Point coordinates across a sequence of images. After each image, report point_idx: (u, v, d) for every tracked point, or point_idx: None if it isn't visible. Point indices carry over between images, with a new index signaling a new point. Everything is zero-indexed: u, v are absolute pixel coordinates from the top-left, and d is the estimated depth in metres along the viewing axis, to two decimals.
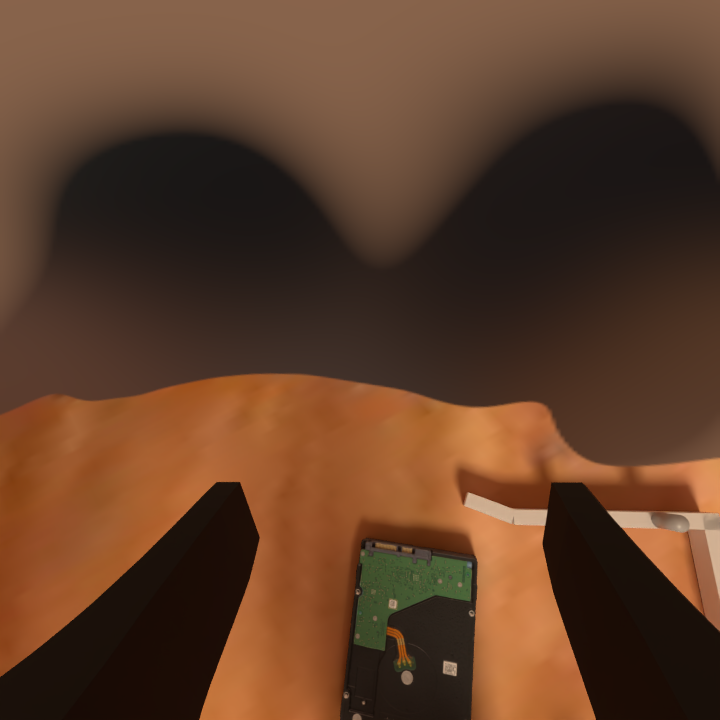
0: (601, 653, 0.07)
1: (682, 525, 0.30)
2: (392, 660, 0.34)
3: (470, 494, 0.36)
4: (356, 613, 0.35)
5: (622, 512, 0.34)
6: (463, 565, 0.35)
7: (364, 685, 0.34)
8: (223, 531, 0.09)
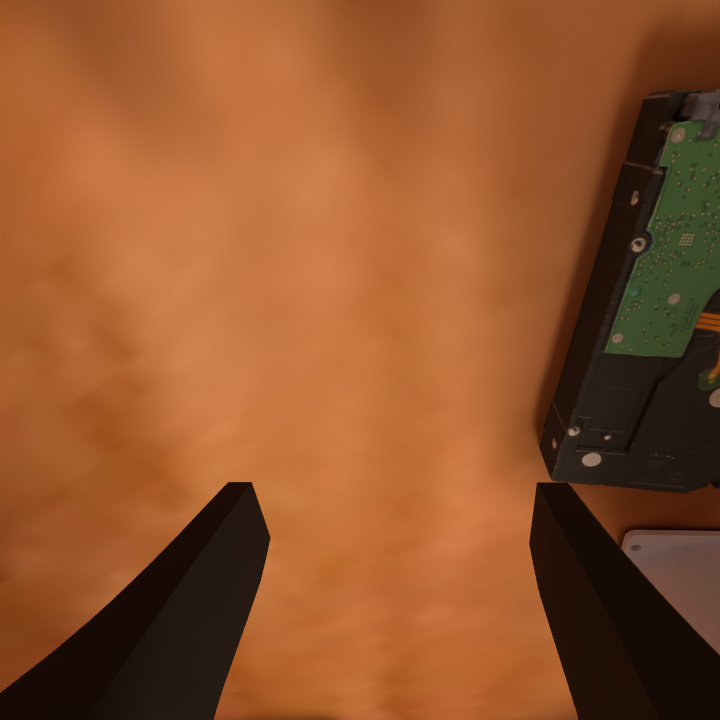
0: (582, 652, 0.07)
1: None
2: (697, 372, 0.15)
3: None
4: (623, 294, 0.14)
5: None
6: None
7: (613, 413, 0.17)
8: (236, 531, 0.09)
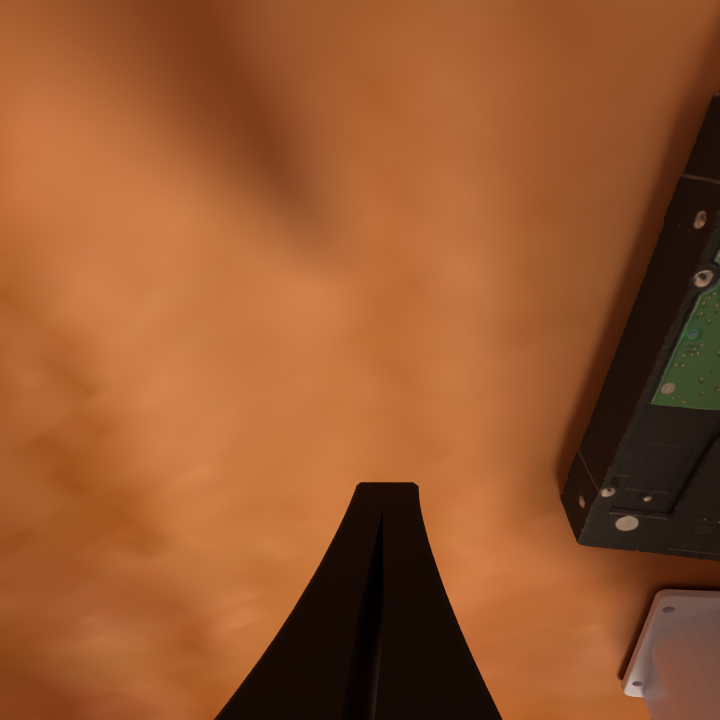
0: None
1: None
2: None
3: None
4: (680, 337, 0.11)
5: None
6: None
7: (655, 472, 0.14)
8: None
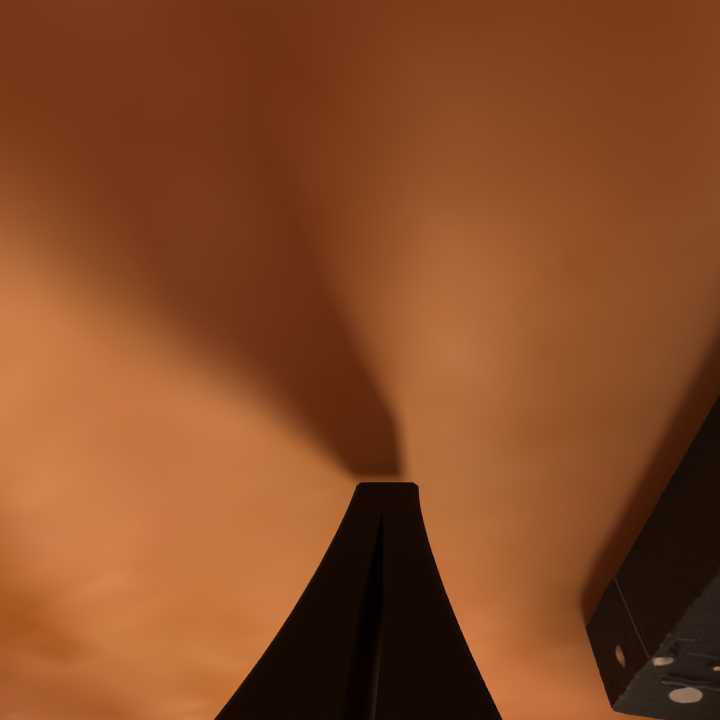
0: None
1: None
2: None
3: None
4: None
5: None
6: None
7: None
8: None
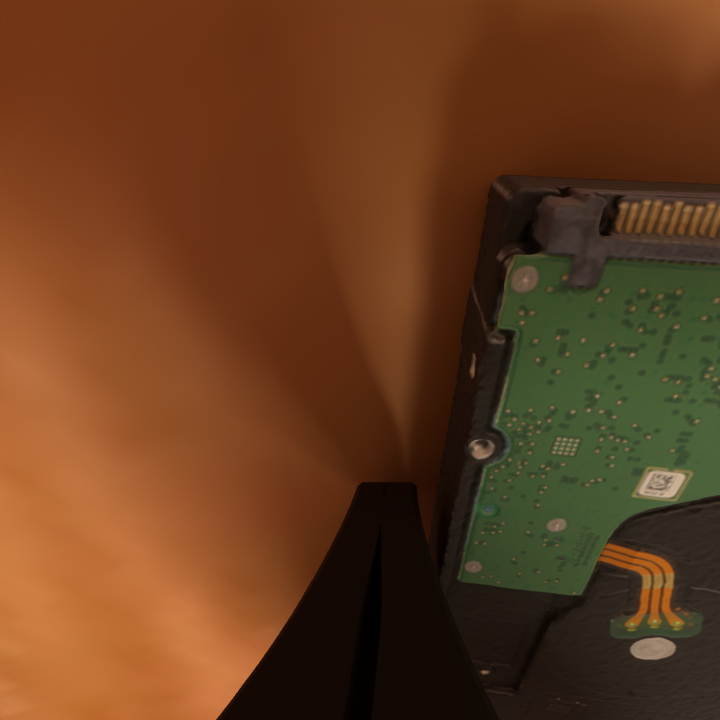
0: None
1: None
2: (608, 618, 0.09)
3: None
4: (471, 513, 0.08)
5: None
6: None
7: (489, 644, 0.11)
8: None
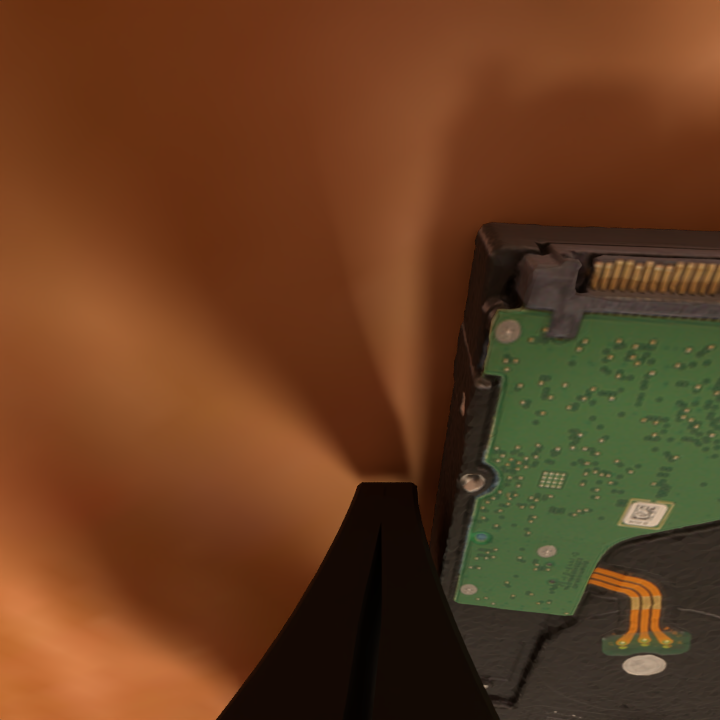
0: None
1: None
2: (600, 636, 0.09)
3: None
4: (465, 540, 0.08)
5: None
6: None
7: (487, 660, 0.11)
8: None
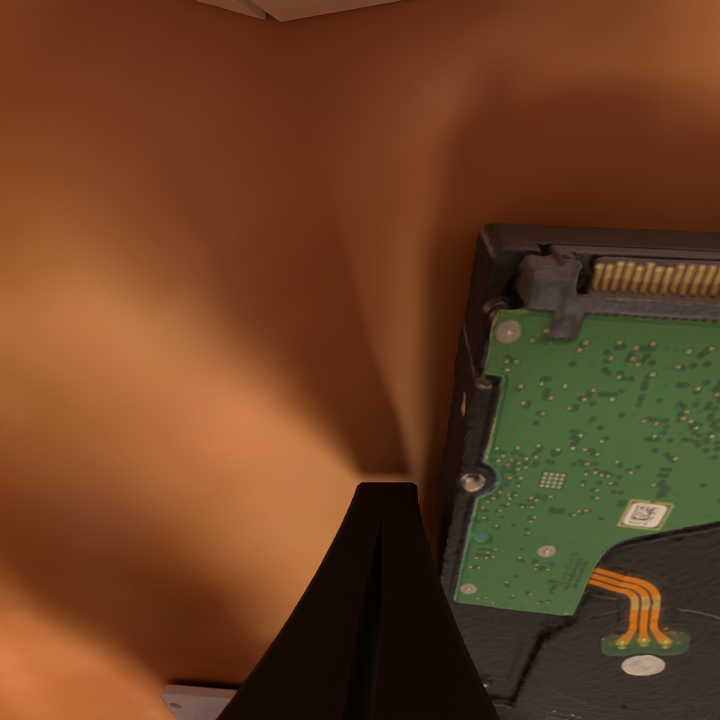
0: None
1: None
2: (599, 636, 0.10)
3: None
4: (464, 540, 0.08)
5: None
6: None
7: (486, 659, 0.11)
8: None
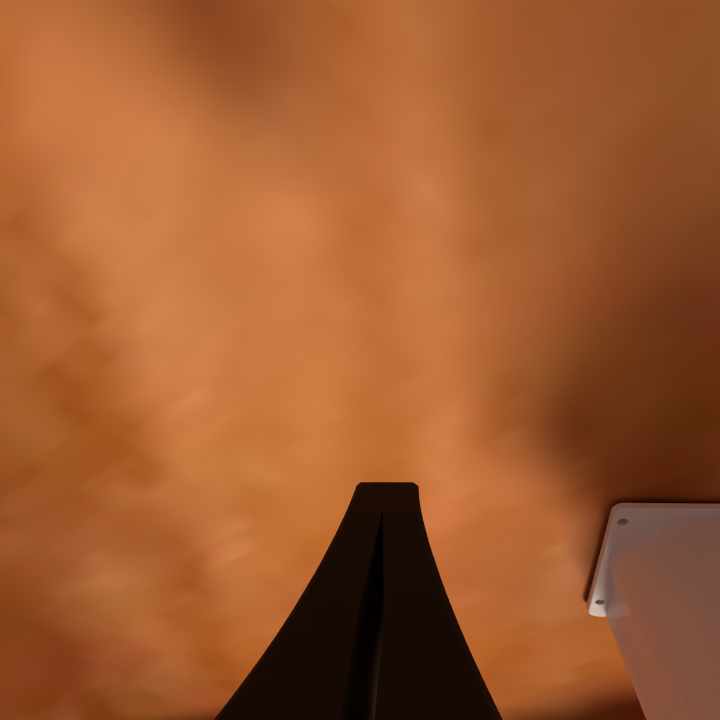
0: None
1: None
2: None
3: None
4: None
5: None
6: None
7: None
8: None
